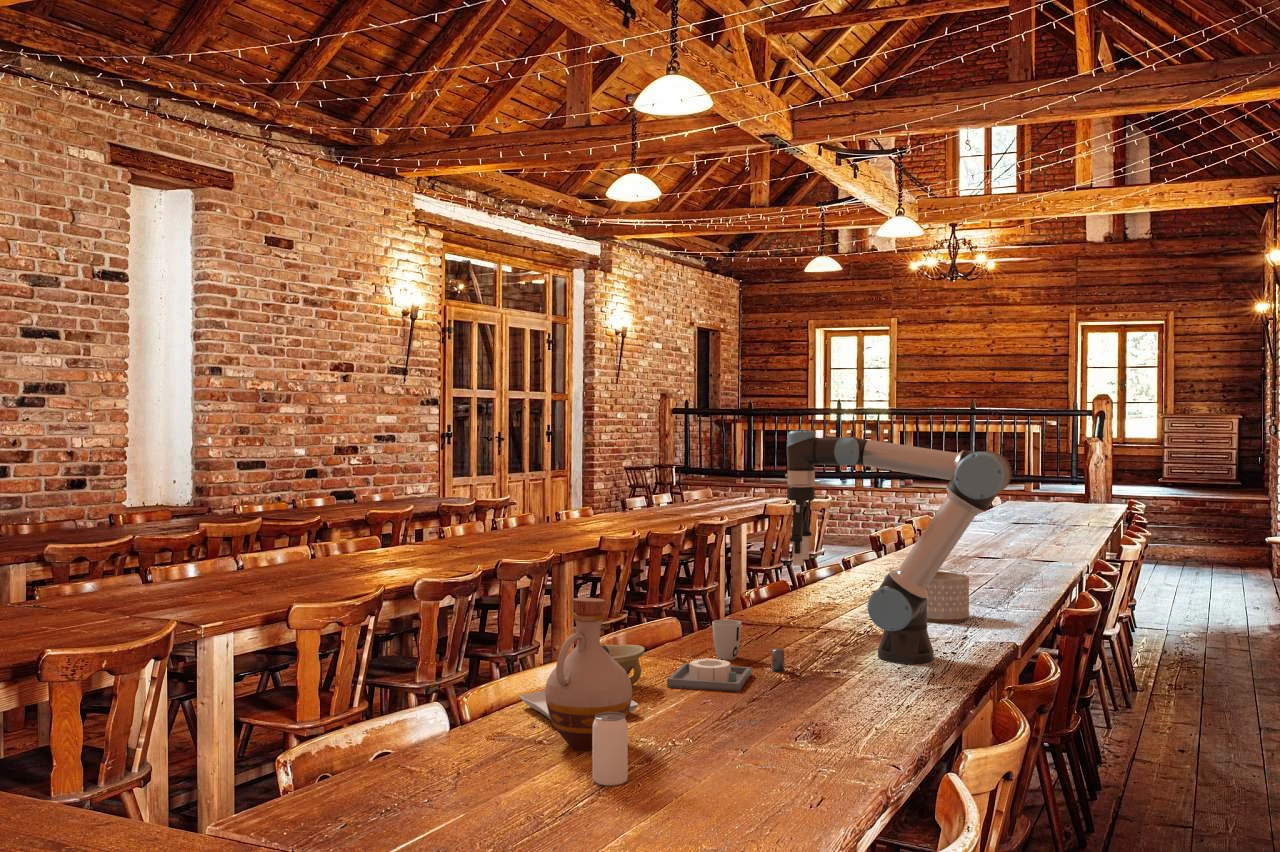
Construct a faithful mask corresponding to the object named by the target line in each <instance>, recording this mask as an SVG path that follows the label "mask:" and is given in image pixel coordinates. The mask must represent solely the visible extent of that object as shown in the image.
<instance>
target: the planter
mask: <svg viewBox="0 0 1280 852" xmlns="http://www.w3.org/2000/svg"><path fill="white" fill-rule="evenodd" d="M927 587H928V590H927V593H928V597H927V622H929V623H939V624H940V623H944V624H945V623H946V624H948V623H950V624H951V623H959V622H962V621H963V620H964V619H967V618H969V617H970V576H969V575H967V574H964V573H959V572H952V571H951V572H949V571H948V572H947V571H938V572H937V573H936V575H935V576H934V578H933V579H932V581H931V582H930V583H929V585H928V586H927Z"/></svg>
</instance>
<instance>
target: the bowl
mask: <svg viewBox="0 0 1280 852" xmlns="http://www.w3.org/2000/svg"><path fill="white" fill-rule="evenodd" d="M601 647H602V648H603V649H604V650H605V651H606V652H607V653H608V654H609V655H610V656H611V657H612V658H613V659H614V660H615V661H616V662H617V663H618V664H619V665H620V666H621V667H622V668H623V669H624V670H625V671H626V673H627V675H628V676H629V675H630V673H631V672H632V670H633V671H634V672H633V674H632V676H631V677H630V676H629V678H630V680H631V685H632V686H633V685H634V684H636V683H637V682H638V681H639V680H640V678H641V675H642V667H641V664H640V660H639V659H640V658H641V657H642V656H644V653H645V650H646V648H645V647H644V646H641V645H637V644H636V645H635V644H613V645H612V644H608V645H601Z"/></svg>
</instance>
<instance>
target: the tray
mask: <svg viewBox="0 0 1280 852" xmlns="http://www.w3.org/2000/svg"><path fill="white" fill-rule="evenodd" d="M689 663H690V662H689ZM689 663H688V662H687V663H686V662H685V663H682V664H681V665H680V666H679V667H678V668H677V669H676V670H675V671H674V672H673V673H672V674H670V675H669V677H667V678H666V687H667V688H675V689H676V688H677V689H691V690H703V691H704V690H706V691H720V692H721V691H723V692H734V693H735V692H736V693H739V692H740V690H741V689H742V688H743V687H744V685H746V683H747V681H748V680H749V679H750V678H751V676H752V666H736V665H735V666H734V665H731V672H736V680H735V681H728V682H720V681H705V680H690V679H689Z"/></svg>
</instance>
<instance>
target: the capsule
mask: <svg viewBox="0 0 1280 852" xmlns="http://www.w3.org/2000/svg"><path fill="white" fill-rule="evenodd" d="M771 671H772V672H776V673H777V672H779V673H780V672H781V673H782V672H784V671H785V649H784V648H772V649H771Z"/></svg>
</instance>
